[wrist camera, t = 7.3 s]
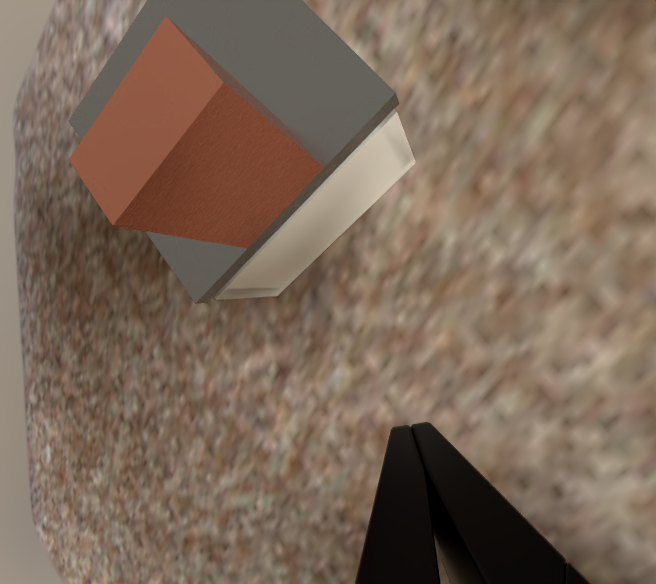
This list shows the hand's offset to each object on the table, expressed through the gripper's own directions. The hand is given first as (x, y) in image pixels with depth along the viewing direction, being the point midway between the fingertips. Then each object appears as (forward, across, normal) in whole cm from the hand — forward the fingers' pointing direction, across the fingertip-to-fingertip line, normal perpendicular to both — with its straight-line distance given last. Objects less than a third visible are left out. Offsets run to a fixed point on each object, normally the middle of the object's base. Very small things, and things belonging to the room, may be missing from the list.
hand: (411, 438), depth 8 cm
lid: (+12, +6, -8) cm, 15 cm away
